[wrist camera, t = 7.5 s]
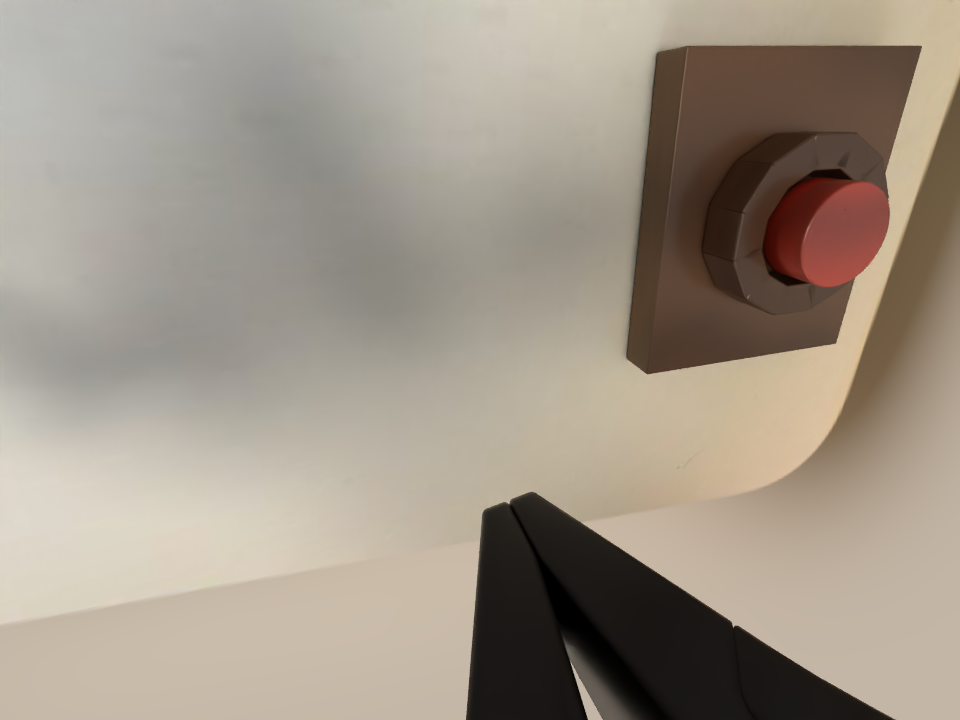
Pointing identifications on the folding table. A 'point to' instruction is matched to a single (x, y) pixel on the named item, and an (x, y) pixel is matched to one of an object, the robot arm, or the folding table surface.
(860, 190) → the power button
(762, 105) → the box
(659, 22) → the folding table surface
